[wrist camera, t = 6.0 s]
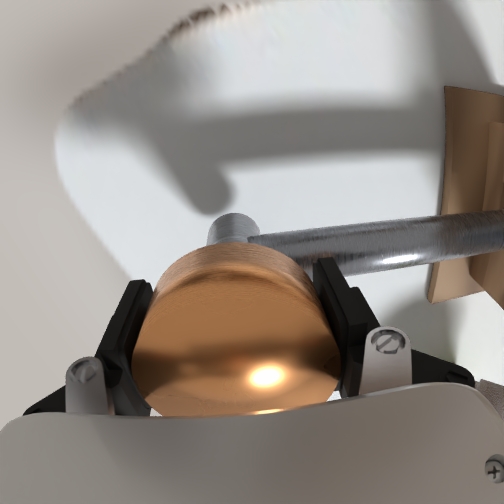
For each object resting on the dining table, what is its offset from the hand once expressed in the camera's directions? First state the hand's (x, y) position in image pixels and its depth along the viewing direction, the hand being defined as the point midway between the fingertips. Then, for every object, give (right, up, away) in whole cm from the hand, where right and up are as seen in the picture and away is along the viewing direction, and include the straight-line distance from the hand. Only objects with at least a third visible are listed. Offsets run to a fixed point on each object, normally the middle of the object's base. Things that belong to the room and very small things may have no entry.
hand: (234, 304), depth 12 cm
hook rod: (+6, +3, +5) cm, 9 cm away
